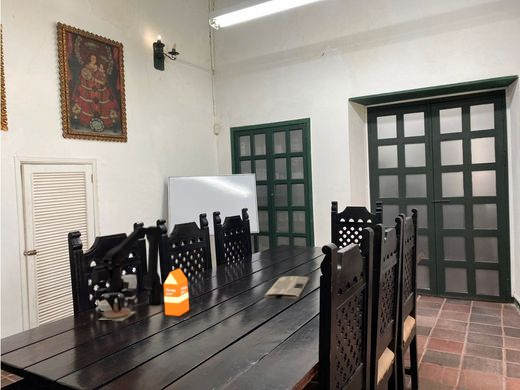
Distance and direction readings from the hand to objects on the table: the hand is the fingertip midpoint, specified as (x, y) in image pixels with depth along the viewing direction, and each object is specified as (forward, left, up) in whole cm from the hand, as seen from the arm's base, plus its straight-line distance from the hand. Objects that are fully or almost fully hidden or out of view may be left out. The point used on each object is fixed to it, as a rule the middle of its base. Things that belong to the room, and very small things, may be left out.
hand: (117, 310), depth 183 cm
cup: (+10, -28, -3) cm, 30 cm away
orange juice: (-27, -7, -3) cm, 28 cm away
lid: (0, 0, -1) cm, 1 cm away
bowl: (+11, -10, -2) cm, 15 cm away
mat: (0, 0, -2) cm, 3 cm away
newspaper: (-74, -49, -3) cm, 88 cm away
